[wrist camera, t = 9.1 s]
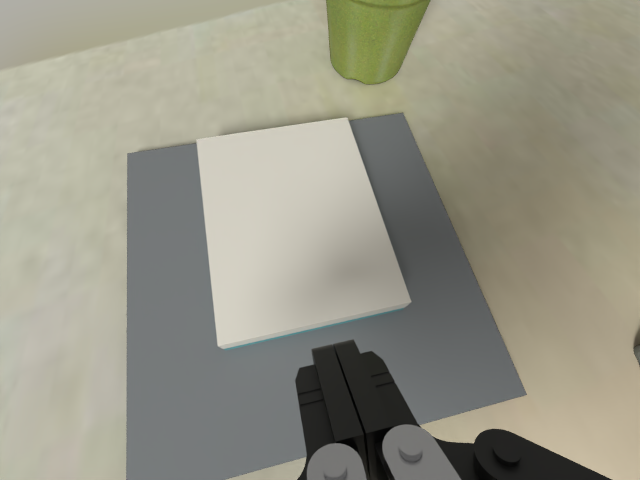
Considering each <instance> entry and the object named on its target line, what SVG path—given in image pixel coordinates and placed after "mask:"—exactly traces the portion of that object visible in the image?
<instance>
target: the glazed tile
mask: <svg viewBox="0 0 640 480" xmlns="http://www.w3.org/2000/svg"><path fill="white" fill-rule="evenodd" d="M196 141H197V150H198V160H199V170H200V180H201V189H202V199H203V209H204V218H205V228H206V238H207V247H208V257H209V267H210V277H211V286H212V296H213V306H214V315H215V325H216V335H217V345H218V347H220V348H222V349H224V350H230V349H234V348H239V347H243V346H247V345H252V344H256V343H260V342H265V341H269V340H273V339H278V338H282V337H286V336H291V335H295V334H299V333H304V332H308V331H312V330H317V329H321V328H325V327H330V326H334V325H338V324H343V323H347V322H351V321H356V320H360V319H364V318H369V317H373V316H377V315H382V314H386V313H391V312H395V311H399V310H403V309H404V308H405V307H406V306H407V305H409V304H410V303H411V299H410V296H409V293H408V291H407V288H406V285H405V282H404V279H403V276H402V273H401V270H400V268H399V265H398V262H397V259H396V256H395V253H394V250H393V247H392V245H391V242H390V239H389V236H388V233H387V230H386V227H385V224H384V222H383V219H382V216H381V213H380V210H379V207H378V204H377V201H376V199H375V196H374V193H373V190H372V187H371V184H370V181H369V178H368V176H367V173H366V170H365V167H364V164H363V161H362V158H361V155H360V153H359V150H358V147H357V144H356V141H355V138H354V135H353V132H352V130H351V127H350V124H349V121H348V118H347V117H345V118H338V119H331V120H324V121H317V122H310V123H304V124H297V125H290V126H283V127H276V128H269V129H262V130H256V131H249V132H242V133H235V134H228V135H221V136H214V137H208V138H201V139H196Z"/></svg>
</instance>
